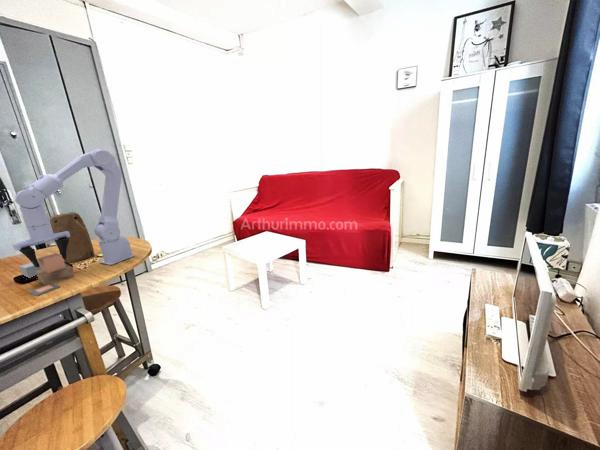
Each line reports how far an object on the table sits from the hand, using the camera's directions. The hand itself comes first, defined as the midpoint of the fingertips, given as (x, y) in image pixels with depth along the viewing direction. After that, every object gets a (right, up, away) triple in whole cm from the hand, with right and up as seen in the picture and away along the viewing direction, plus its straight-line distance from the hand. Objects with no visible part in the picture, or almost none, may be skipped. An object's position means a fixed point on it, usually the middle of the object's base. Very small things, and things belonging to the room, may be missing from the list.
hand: (51, 262), depth 93 cm
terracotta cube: (0, -3, +1) cm, 3 cm away
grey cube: (-10, -6, +5) cm, 13 cm away
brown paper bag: (-7, -2, +20) cm, 22 cm away
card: (+4, -8, -6) cm, 11 cm away
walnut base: (0, -6, +2) cm, 7 cm away
